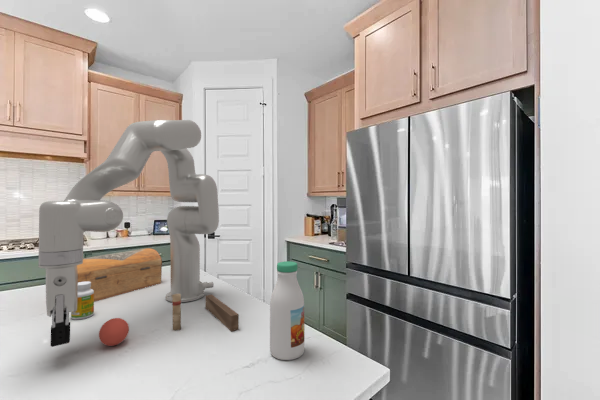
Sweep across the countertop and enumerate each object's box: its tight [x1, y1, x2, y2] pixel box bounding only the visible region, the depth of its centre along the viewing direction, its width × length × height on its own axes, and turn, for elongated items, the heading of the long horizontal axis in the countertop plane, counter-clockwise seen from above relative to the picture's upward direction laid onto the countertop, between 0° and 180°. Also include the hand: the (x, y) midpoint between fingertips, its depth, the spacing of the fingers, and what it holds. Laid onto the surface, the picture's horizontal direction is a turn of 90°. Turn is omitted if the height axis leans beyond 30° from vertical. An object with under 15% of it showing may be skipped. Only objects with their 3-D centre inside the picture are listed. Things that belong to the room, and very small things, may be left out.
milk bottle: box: [269, 260, 306, 361], centre depth 67 cm, size 8×8×20 cm
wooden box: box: [77, 247, 163, 303], centre depth 112 cm, size 30×16×14 cm, turn 149°
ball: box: [98, 317, 130, 347], centre depth 70 cm, size 6×6×6 cm
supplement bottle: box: [70, 281, 95, 321], centre depth 87 cm, size 5×5×10 cm
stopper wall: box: [205, 294, 240, 332], centre depth 85 cm, size 2×20×4 cm, turn 36°
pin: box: [171, 294, 182, 331], centre depth 78 cm, size 2×2×9 cm
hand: (60, 343), depth 64 cm, fingers closed
